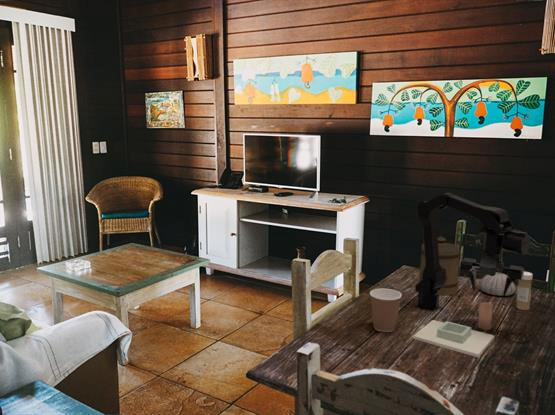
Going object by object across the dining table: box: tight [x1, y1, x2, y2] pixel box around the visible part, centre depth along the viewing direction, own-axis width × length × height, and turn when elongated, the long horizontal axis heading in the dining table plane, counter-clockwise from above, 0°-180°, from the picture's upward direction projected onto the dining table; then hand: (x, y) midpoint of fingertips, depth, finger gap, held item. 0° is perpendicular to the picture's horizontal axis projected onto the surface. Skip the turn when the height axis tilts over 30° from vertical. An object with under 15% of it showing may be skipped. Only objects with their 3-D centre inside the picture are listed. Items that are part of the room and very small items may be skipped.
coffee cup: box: [369, 288, 402, 333], centre depth 162 cm, size 10×10×12 cm
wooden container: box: [419, 236, 460, 296], centre depth 198 cm, size 15×15×22 cm
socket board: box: [412, 319, 495, 358], centre depth 154 cm, size 20×16×4 cm
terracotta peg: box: [477, 301, 494, 331], centre depth 162 cm, size 4×4×8 cm
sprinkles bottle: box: [515, 271, 534, 311], centre depth 178 cm, size 5×5×14 cm
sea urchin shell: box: [478, 272, 517, 297], centre depth 195 cm, size 13×14×8 cm
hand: (488, 293), depth 161 cm, fingers open, 9 cm apart
